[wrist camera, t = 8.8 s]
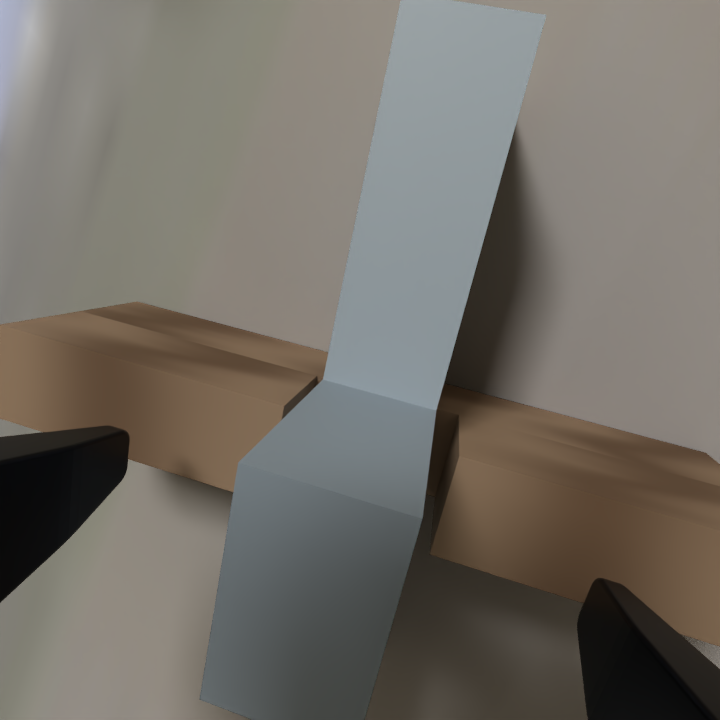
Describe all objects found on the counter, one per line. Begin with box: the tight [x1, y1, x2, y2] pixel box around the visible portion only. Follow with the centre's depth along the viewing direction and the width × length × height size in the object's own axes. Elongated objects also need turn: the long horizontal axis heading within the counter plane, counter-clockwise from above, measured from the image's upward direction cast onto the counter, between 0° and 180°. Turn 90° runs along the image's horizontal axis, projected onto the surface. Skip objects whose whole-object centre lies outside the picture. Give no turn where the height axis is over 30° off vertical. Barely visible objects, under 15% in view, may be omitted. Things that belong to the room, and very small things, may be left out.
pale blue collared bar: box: [200, 0, 546, 720], centre depth 11 cm, size 18×2×9 cm, turn 168°
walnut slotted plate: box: [0, 302, 720, 646], centre depth 13 cm, size 18×2×5 cm, turn 78°
